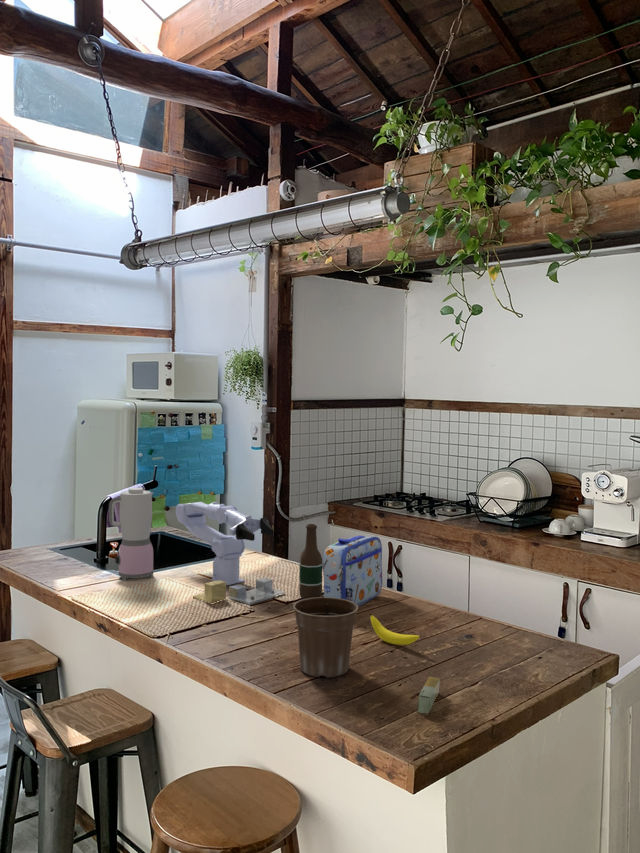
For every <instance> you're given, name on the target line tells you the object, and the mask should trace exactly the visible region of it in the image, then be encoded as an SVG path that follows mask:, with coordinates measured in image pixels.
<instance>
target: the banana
mask: <svg viewBox="0 0 640 853" xmlns="http://www.w3.org/2000/svg"><path fill="white" fill-rule="evenodd" d="M368 614H369V616H370V622H371V626H372V627H373V628H372V629H373V630H374V632H375V634H376V635H377V636H378V638H380V639H381V641H384V642H385V643H388V644H392V645H398V646H406V645H407V646H408V645H411V644H413V643H414V642H416V641H418V640H419V639H420V637H421V636H420V635H417V634H402V633H398V632H394V631H391V630H389V629H387V628H386V627H385V626H383V625H382V623H381V622H380V620H378V619H377V617H375V616H374V615H373V613H368Z"/></svg>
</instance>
